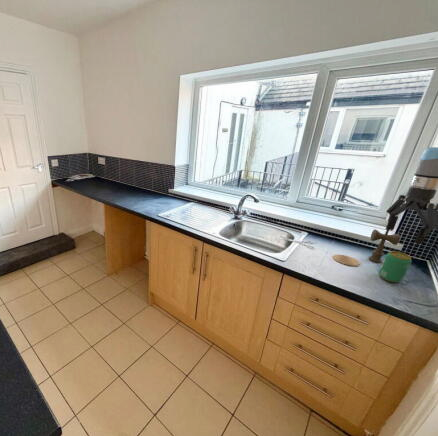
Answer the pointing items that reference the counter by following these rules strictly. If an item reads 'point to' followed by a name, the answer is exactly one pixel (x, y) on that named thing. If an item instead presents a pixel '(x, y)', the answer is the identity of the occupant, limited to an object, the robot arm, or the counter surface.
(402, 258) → the beverage can
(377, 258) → the kendama
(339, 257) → the cork coaster
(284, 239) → the scissors
